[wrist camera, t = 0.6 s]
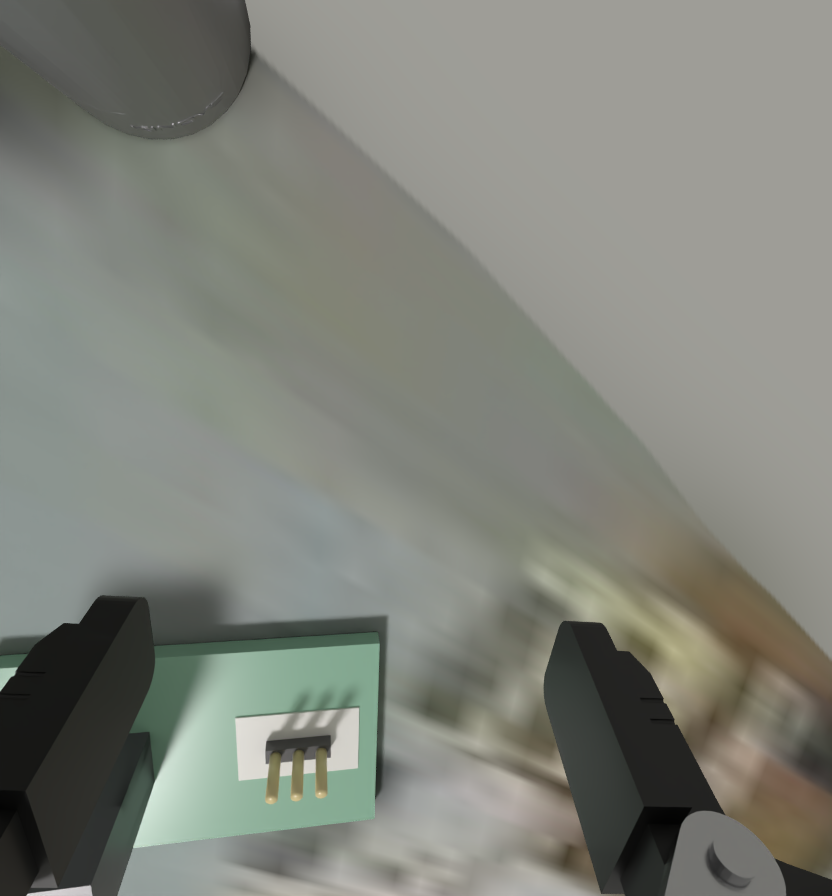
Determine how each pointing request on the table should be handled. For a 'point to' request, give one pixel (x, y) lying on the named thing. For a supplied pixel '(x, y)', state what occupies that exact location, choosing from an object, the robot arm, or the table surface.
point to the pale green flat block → (257, 735)
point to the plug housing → (110, 826)
